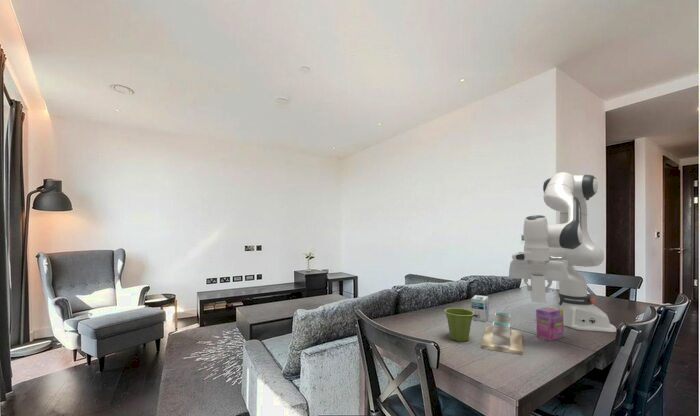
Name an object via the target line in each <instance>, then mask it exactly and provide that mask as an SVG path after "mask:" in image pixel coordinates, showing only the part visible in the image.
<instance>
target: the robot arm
mask: <svg viewBox="0 0 700 416" xmlns="http://www.w3.org/2000/svg"><path fill="white" fill-rule="evenodd" d="M598 188H599V184H598V180H597V178H596V177H595V176H594V175H591V174H583V175H580V174H576V175H575V174H574V175H573V174H571V173H569V172H567V171H562V172H561V171H560V172H557V173H556V174H554V175H553V176H552V177H550V178H548V179H546V180H545V181H544V182H543V186H542V191H543V202H544V203H545V205H546V206H547V207H549V208H550V209H551V210H553V211H557V212H559V223H548V219H547V217H546V215H541V214H540V215H539V214H538V215H530V216H526V217H525V218H524V221H523V230H522V231H523V232H522V233H523V234H522V235H523V240H524V246H523V251H519V252H515V253H513V254H512V255H511V259H512V260H511V261H510V263H509V267H508V268H509V271H508V275H509V276H508V277H510V278H511V279H519V280H523V282H524V284H525V286H526V290H527V291H528V292H529V291H530V292H531V291H532V289H531V285H529V284H528V282H529V280H531V275H543V276H545V281H547V285H546V286H545V291H546V293H550V288H551V286H552V285H553V281H554V282H558V290H559V292H558V295H557V296H558V297H557V298H558V305H559V307H558V308H561V309H563V323H564V327H568V328H571V329H574V330H580V331H591V332H593V331H594V332H605V333H616V332H617V331H616V330H617V328H616V325H613V324H611V323H610V319H609V317H608V314H607V313H606V312H604V311H603V310H601V308H599V307H597V306H596V305H595V304H596V298H594V297H591V296H589V295H588V283H587V282H588V281H587V279H586V278H585V276H583V275H582V274H581V273H578V272H577V271H576V269H575V266H576V267H582V268H583V267H585V268H588V267H590V268H591V267H598V266H600V265H601V264H602V263H603V262H604V260H605V253H604V251H603V249H602V248H601V247H600V246H599V245H597V244H596V243H595V242H594V241H593V240H592V238H591V237H590V235H589V232H588V206H587V201H589V200H590V199H591V198H593V197H594V196H595V195H596V194H597V192H598Z"/></svg>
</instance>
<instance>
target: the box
mask: <svg viewBox="0 0 700 416" xmlns="http://www.w3.org/2000/svg"><path fill="white" fill-rule="evenodd" d="M535 316H536V317H535V318H536V319H535V321H536V322H535V323H536V337H537V338H539V339H542V340H546V341H549V342H551V341H554V340H558V339H561V338H564V337H565V328H564V327H565V326H564V323H563V309H561V308H559V307H555V306H551V305H550V306H545V307H541V308H540V307H539V308H536V309H535Z"/></svg>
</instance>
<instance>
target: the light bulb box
mask: <svg viewBox="0 0 700 416" xmlns="http://www.w3.org/2000/svg"><path fill="white" fill-rule="evenodd" d="M470 299H471V311H473V312H474V315H473V317H472V320H471V321H478V322H484V323H485V322H487V321H488V319H489V318H490V302H489V296H486V295H479V294H475V295H474V296H472V297H471V298H470Z"/></svg>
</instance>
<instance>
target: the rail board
mask: <svg viewBox="0 0 700 416" xmlns="http://www.w3.org/2000/svg"><path fill="white" fill-rule="evenodd" d="M511 321H512V320H511V314H510V313H507V312H498V311H497V312H495V313H494V321H492V326H485V330H484V334H483V338H482V341H481V345H480V347H481V349H484V350H491V351H496V352H497V351H498V352H504V353H508V354H509V353H510V354H514V355H515V354H516V355H520V356H523V352H524V350H523V337H522V330H517V329H511V327H512V326H511V325H512V323H511Z"/></svg>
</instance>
